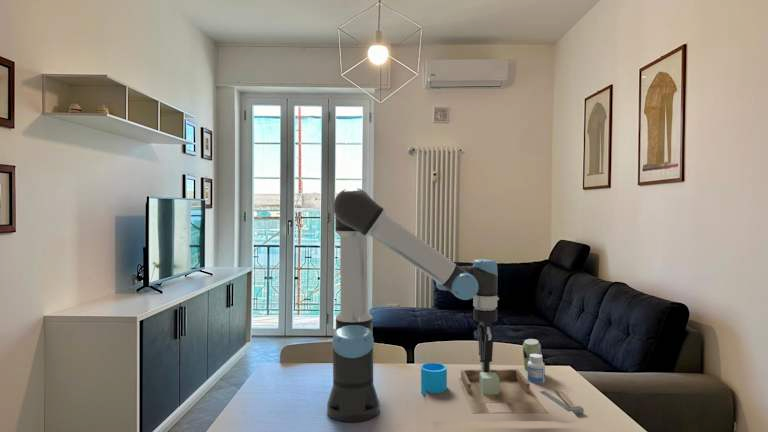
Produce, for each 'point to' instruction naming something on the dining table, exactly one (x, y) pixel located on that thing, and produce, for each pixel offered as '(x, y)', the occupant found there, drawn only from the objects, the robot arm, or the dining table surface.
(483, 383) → the block
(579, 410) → the crook tool
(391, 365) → the dining table surface
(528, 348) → the beverage can
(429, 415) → the dining table surface
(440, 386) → the mug
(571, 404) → the dowel
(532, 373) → the pill bottle
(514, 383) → the cubby deck
